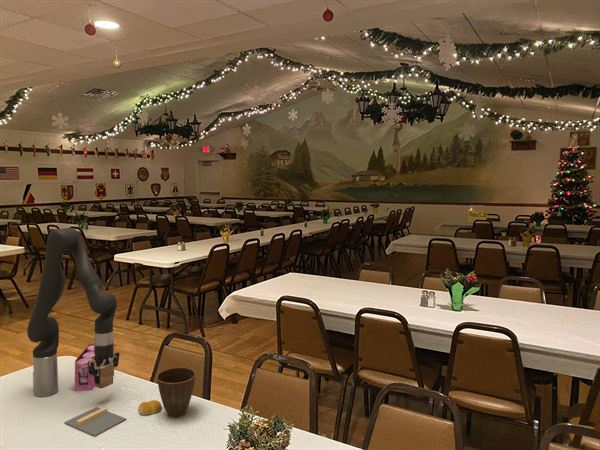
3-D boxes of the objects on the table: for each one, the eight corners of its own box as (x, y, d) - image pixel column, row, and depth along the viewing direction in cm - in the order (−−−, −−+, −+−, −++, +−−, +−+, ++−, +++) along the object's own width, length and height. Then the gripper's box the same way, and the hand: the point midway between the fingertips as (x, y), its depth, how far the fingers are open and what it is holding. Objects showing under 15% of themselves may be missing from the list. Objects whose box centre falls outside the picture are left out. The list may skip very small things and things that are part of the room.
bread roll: (163, 412, 185) (163, 402, 184) (141, 418, 180) (141, 408, 179) (158, 403, 192) (157, 394, 191) (136, 409, 187) (135, 400, 186)
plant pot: (203, 409, 187) (203, 372, 185) (177, 426, 174) (177, 386, 172) (176, 401, 194) (175, 364, 192) (149, 416, 181) (148, 377, 179)
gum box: (92, 391, 202) (91, 361, 201) (73, 392, 201) (72, 362, 199) (106, 369, 225) (105, 343, 224) (89, 370, 224) (88, 343, 223)
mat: (64, 423, 174) (64, 417, 174) (96, 408, 187) (96, 402, 186) (94, 436, 166) (94, 430, 165) (126, 419, 178) (126, 414, 178)
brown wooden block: (94, 386, 189) (94, 365, 188) (107, 381, 195) (107, 360, 194) (101, 388, 187) (101, 367, 187) (113, 383, 193) (113, 362, 192)
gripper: (112, 335, 197) (112, 372, 199) (82, 345, 185) (82, 384, 186) (124, 338, 194) (124, 376, 195) (94, 349, 181) (94, 389, 183)
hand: (104, 380), depth 191 cm, fingers closed on brown wooden block, 6 cm apart
